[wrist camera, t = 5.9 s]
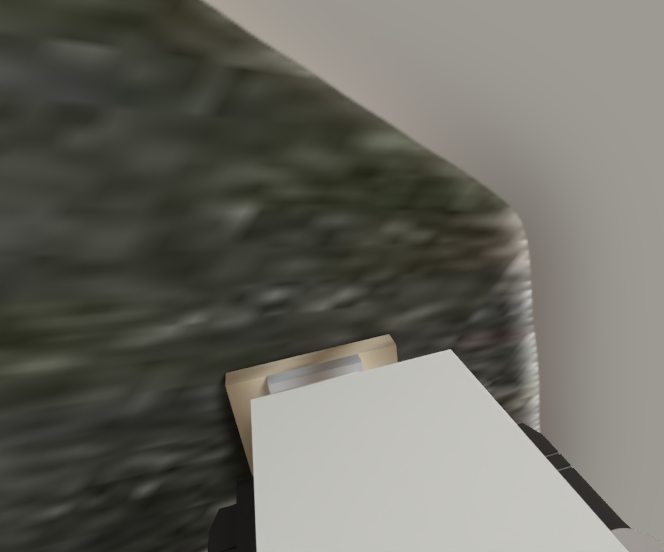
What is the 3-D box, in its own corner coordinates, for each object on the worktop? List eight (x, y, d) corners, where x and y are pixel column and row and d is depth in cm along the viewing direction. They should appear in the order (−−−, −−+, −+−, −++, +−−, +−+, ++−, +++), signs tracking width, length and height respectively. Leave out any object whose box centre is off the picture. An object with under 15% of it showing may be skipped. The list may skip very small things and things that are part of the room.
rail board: (275, 541, 36) (285, 649, 29) (226, 373, 29) (222, 461, 22) (405, 502, 38) (445, 595, 31) (389, 334, 31) (435, 404, 23)
